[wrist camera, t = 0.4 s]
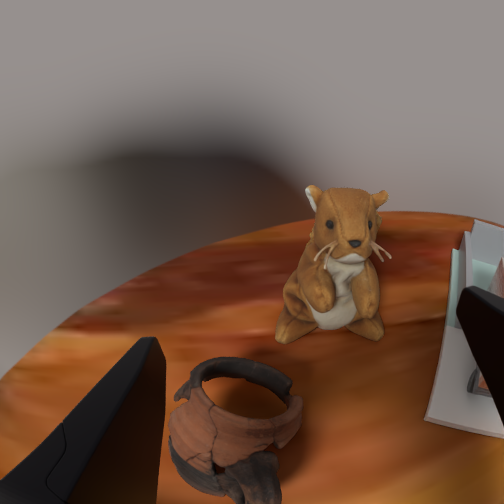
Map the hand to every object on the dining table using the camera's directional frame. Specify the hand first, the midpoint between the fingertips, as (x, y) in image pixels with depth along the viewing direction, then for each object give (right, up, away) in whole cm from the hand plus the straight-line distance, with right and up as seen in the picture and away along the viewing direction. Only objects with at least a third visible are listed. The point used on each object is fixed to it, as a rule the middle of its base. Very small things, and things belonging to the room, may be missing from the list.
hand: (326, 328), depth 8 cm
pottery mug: (-3, -13, +11) cm, 17 cm away
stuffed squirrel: (+6, -3, +23) cm, 24 cm away
